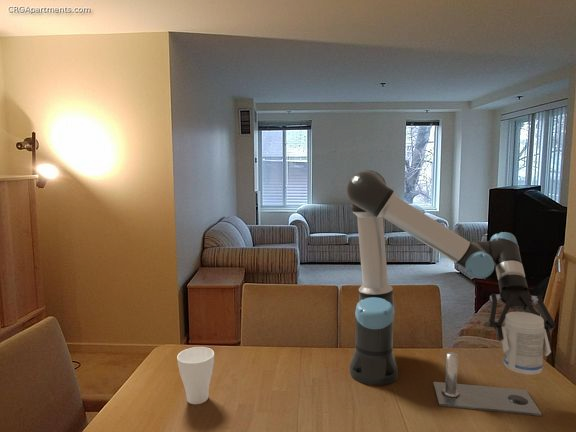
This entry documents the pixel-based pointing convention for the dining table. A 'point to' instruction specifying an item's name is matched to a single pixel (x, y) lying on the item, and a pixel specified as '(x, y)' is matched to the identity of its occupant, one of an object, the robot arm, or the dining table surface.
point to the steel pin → (451, 375)
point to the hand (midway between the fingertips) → (527, 352)
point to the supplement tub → (524, 342)
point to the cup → (196, 372)
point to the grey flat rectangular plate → (488, 399)
